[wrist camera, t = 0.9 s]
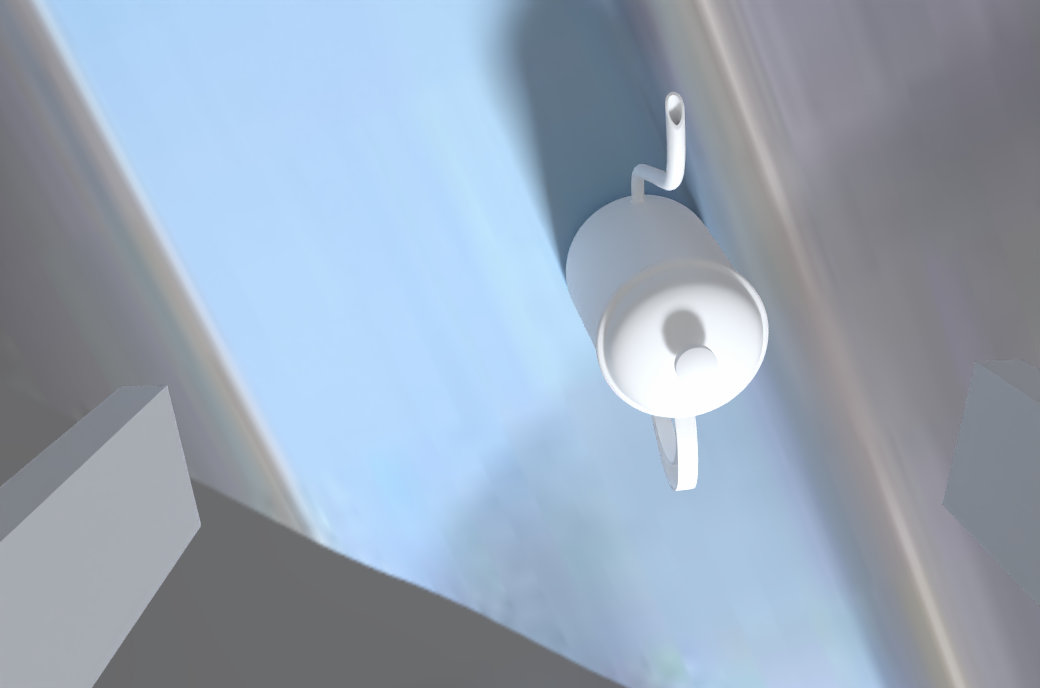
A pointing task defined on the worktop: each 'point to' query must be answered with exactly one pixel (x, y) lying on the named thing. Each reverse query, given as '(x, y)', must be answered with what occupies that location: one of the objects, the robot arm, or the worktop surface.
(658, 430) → the coffeepot
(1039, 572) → the robot arm
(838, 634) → the worktop surface
